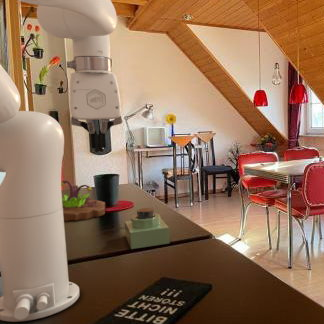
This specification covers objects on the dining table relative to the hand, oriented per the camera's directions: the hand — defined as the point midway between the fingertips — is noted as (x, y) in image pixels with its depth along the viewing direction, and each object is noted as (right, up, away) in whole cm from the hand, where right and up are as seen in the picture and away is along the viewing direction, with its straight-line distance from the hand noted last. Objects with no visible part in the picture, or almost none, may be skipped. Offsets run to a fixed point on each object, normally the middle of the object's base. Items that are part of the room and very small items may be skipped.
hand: (98, 151), depth 86 cm
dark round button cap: (+8, -16, +10) cm, 21 cm away
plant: (-23, -19, +39) cm, 49 cm away
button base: (+8, -22, +10) cm, 25 cm away
